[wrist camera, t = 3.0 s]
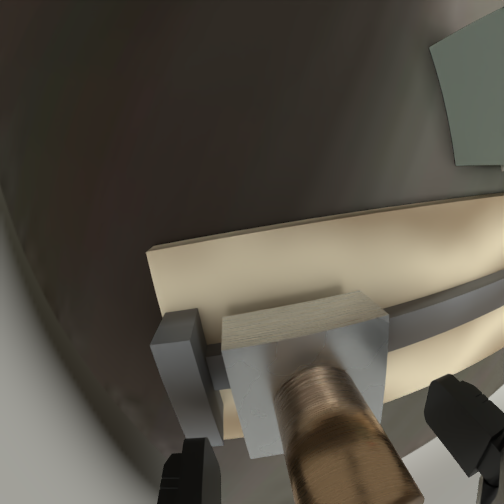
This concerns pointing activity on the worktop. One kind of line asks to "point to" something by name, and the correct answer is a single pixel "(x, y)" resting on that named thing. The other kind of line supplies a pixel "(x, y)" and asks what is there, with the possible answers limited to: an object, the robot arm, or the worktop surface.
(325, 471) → the carriage
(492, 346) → the rail track
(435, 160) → the worktop surface
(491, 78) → the button box
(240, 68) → the worktop surface
